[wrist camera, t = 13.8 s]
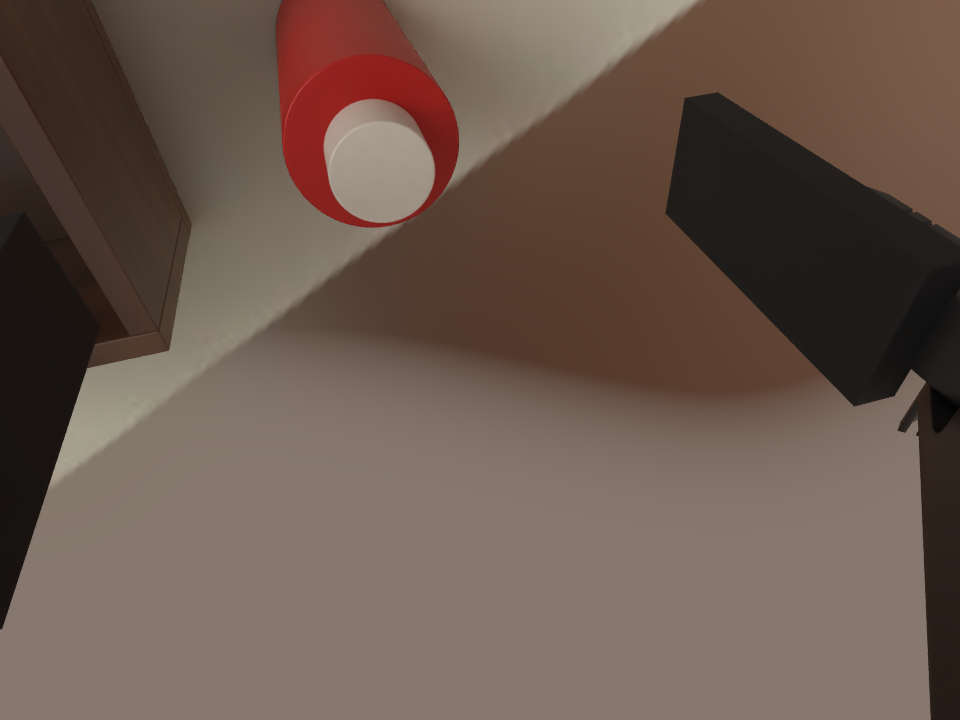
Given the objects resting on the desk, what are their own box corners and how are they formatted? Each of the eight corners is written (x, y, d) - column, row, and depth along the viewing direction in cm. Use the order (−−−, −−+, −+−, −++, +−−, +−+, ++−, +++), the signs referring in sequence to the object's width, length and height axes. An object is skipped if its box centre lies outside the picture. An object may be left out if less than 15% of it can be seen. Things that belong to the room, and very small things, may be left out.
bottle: (384, -37, 22) (466, 60, 13) (403, 90, 26) (480, 238, 16) (259, -20, 22) (257, 92, 13) (294, 108, 25) (312, 272, 16)
